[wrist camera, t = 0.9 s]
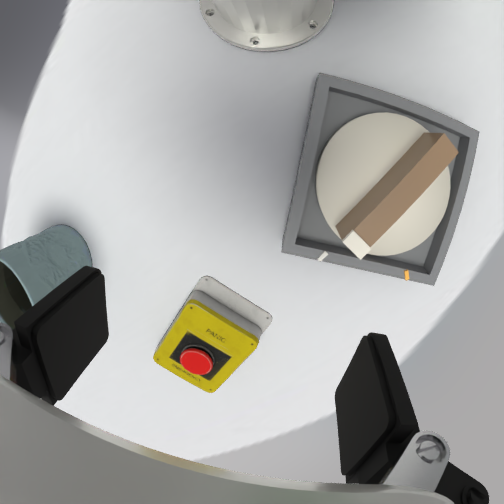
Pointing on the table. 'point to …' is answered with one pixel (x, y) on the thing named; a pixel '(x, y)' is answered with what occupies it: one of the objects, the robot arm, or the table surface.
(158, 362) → the emergency button
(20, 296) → the teal cup
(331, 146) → the dial
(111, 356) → the table surface
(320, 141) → the dial housing
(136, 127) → the table surface
